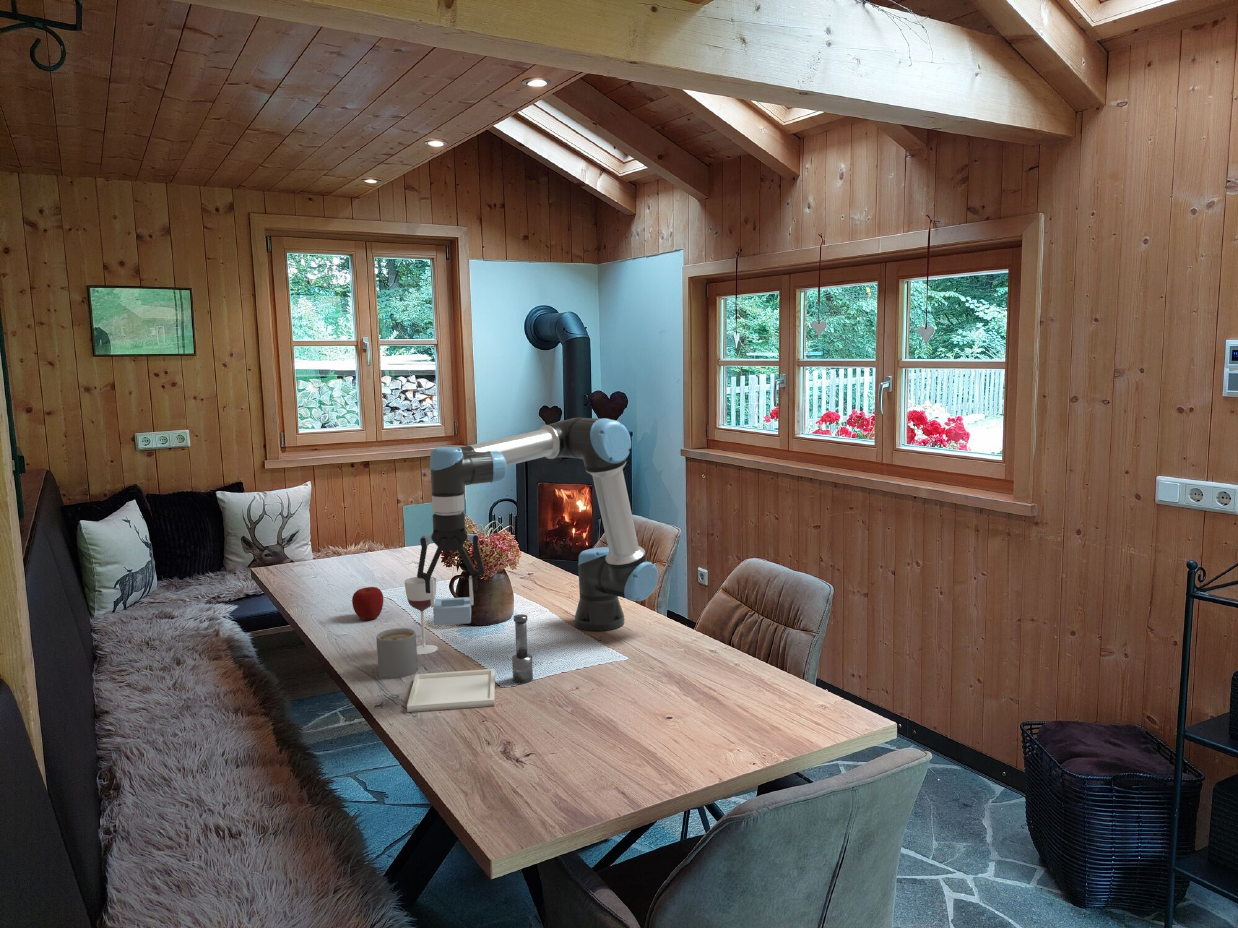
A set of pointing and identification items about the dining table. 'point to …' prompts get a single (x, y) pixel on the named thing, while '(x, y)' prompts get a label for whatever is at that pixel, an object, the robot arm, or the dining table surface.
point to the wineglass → (420, 606)
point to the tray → (452, 690)
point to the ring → (452, 611)
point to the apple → (368, 602)
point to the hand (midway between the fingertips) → (452, 604)
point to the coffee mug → (397, 653)
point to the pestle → (521, 652)
